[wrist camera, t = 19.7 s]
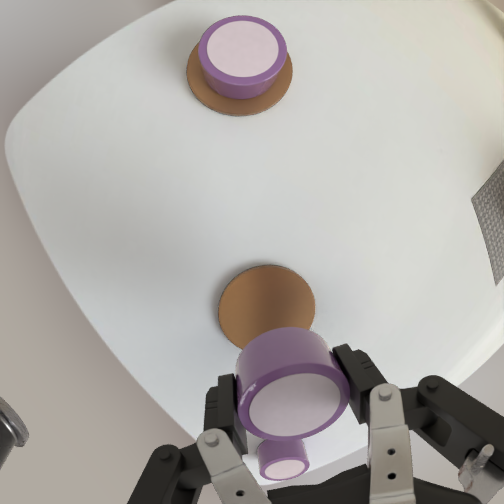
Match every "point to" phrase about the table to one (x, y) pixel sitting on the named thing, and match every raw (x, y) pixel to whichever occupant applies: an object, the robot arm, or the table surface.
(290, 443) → the purple rimmed puck
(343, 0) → the table surface
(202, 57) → the purple short cylinder
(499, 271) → the architectural model
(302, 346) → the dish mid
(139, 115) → the table surface
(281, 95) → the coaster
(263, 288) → the brown wooden coaster
